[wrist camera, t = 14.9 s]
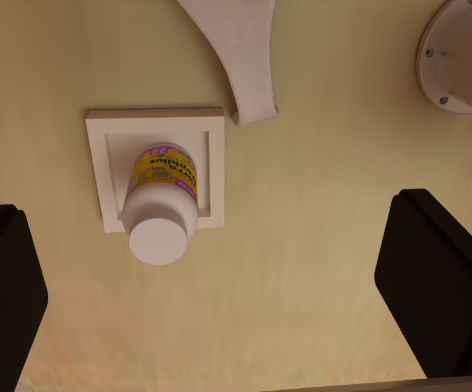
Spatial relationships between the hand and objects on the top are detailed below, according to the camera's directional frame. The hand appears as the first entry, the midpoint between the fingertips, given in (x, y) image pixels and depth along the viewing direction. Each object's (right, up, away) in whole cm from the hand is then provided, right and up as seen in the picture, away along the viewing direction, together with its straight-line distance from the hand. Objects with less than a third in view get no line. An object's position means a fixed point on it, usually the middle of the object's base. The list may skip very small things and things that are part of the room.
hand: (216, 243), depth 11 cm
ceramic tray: (-7, +4, +34) cm, 35 cm away
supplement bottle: (-7, +4, +34) cm, 35 cm away
